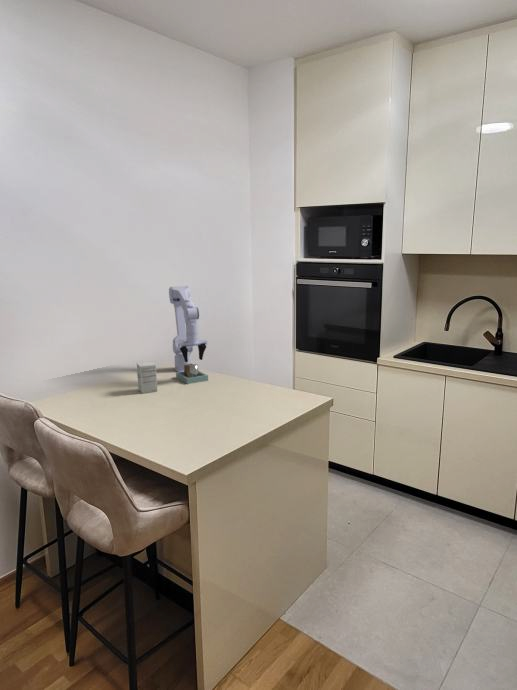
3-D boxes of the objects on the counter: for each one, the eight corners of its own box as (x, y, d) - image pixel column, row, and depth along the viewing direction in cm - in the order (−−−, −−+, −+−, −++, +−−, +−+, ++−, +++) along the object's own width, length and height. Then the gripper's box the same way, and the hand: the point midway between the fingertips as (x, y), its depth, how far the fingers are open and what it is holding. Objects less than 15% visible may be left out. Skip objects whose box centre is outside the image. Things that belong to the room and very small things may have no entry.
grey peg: (189, 378, 232) (188, 365, 230) (196, 377, 234) (196, 363, 232) (192, 380, 228) (191, 366, 227) (200, 379, 230) (199, 365, 229)
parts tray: (176, 377, 237) (175, 372, 236) (196, 374, 242) (196, 369, 242) (187, 384, 225) (186, 378, 225) (208, 380, 231) (208, 375, 230)
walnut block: (184, 376, 237) (183, 364, 235) (191, 375, 239) (191, 363, 237) (187, 378, 233) (187, 366, 232) (195, 376, 235) (194, 365, 234)
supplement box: (138, 389, 218) (136, 362, 215) (154, 387, 221) (152, 361, 218) (141, 393, 211) (139, 366, 209) (157, 391, 214) (156, 364, 212)
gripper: (181, 335, 219) (182, 364, 222) (209, 332, 227) (210, 360, 230) (175, 333, 225) (177, 361, 228) (203, 330, 233) (204, 357, 235)
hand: (193, 360), depth 229 cm, fingers open, 7 cm apart
